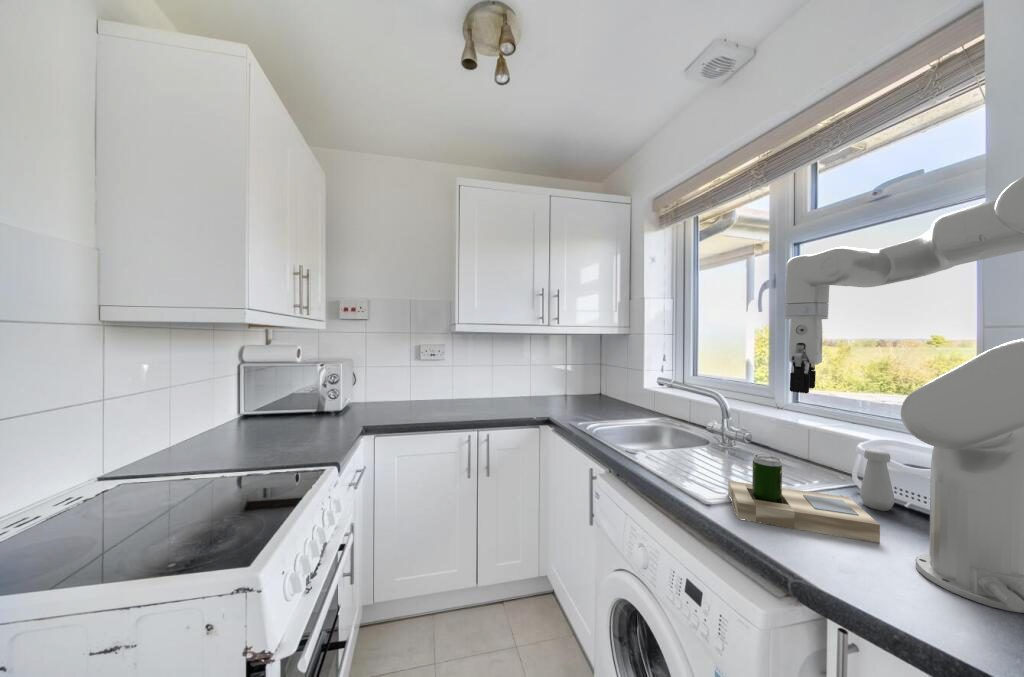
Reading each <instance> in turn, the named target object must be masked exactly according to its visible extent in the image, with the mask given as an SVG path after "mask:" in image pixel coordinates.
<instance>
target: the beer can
mask: <svg viewBox="0 0 1024 677" xmlns="http://www.w3.org/2000/svg"><path fill="white" fill-rule="evenodd" d="M781 461H782V459H781V458H780V457H778V456H775V455H771V454H763V453H762V454H761V453H757V454H756V453H755V454H754V455H753V458H752V480H751V482H752V483H751V484H752V499H754V500H760V501H767V502H774V503H780V504H782V488H783V463H782V462H781Z"/></svg>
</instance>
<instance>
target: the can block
mask: <svg viewBox="0 0 1024 677" xmlns="http://www.w3.org/2000/svg"><path fill="white" fill-rule="evenodd" d="M727 486H728V488H727V492H728V494H727V495H729V496H730V497H731V499H732V503H731V505H732V508H733V507H734V508H733V510H734V509H735V510H734V513H735V512H736V513H735V515H736V514H737V515H736V517H738V518H739V519H745V520H750V521H749V522H751V521H755V522H754V523H757V522H761V523H760V524H763V523H766V524H765V525H769V524H771V525H770V526H776V527H782V528H787V529H792V530H800V531H806V532H810V533H817V534H822V535H824V534H825V535H829V536H834V537H835V536H836V537H841V538H847V539H853V540H858V541H864V542H870V543H877V544H880V543H881V524H880V523H878V521H877V520H876V519H874V518H873V517H872V516H870V514H869V513H867V511H865V510H864V509H863V508H861V507H860V506H859V505H858V504H857V503H856V502H855V501H854V500H852V499H851V498H850V497H848V496H843V495H835V494H829V493H822V492H821V493H820V492H814V491H805V490H798V489H793V488H792V489H791V488H784V487H782V504H780V503H774V502H767V501H760V500H754V499H752V483H749V482H748V483H747V482H746V483H745V482H740V481H733V480H732V481H731V480H728V484H727ZM729 496H728V497H729ZM738 518H737V519H738ZM739 519H738V520H739ZM745 520H744V521H745Z"/></svg>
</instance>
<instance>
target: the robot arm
mask: <svg viewBox="0 0 1024 677" xmlns="http://www.w3.org/2000/svg"><path fill="white" fill-rule="evenodd" d="M1022 251H1023V252H1024V175H1023V176H1021V177H1020V178H1018V179H1017V180H1015V181H1013V182H1012V183H1010V184H1009V185H1008V186H1007V187H1005V189H1004V190H1003V191H1002V192H1001V193H1000V194H999V196H998V197H997V198H994V199H990V200H987V201H984V202H982V203H978V204H975V205H972V206H968V207H966V208H965V207H964V208H961V209H960V210H956V211H952V212H949V213H946V214H943V215H941V216H939V217H938V218H936V219H935V220H934V221H933V222H932V224H931V227H930V229H929V230H928V231H926V232H925V233H923V234H922V235H919V236H917V237H915V238H912V239H909V240H906V241H903V242H900V243H897V244H896V243H895V244H893V245H889V246H886V247H881V248H878V249H867V248H861V247H859V248H858V247H850V246H839V247H834V248H830V249H827V250H823V251H821V252H817V253H814V254H803V255H798V256H793V257H791V258H790V259H788V260H787V262H786V269H785V270H786V271H785V294H784V298H785V299H784V320H790V322H789V340H788V342H789V343H788V359H789V363H791V369H790V373H789V374H790V376H789V391H790V392H791V393H792V392H793V393H799V394H809V392H810V389H815V387H816V374H817V373H816V372H817V371H816V366H817V365H819V364H821V363H822V362H823V321H822V320H828V319H829V304H830V302H829V301H830V286H837V287H853V288H855V287H856V288H875V287H881V286H885V285H890V284H895V283H899V282H904V281H909V280H914V279H918V278H921V277H926V276H929V275H933V274H936V273H939V272H942V271H945V270H949V269H952V268H954V267H956V266H960V265H964V264H968V263H972V262H978V261H983V260H987V259H991V258H995V257H999V256H1004V255H1009V254H1013V253H1018V252H1019V253H1020V252H1022ZM900 419H901V422H902V424H903V426H904V428H905V429H906V430H907V432H908V433H910V434H911V435H912V436H913V437H914V438H916V440H917V439H918V440H919V441H920V442H922V443H924V444H927V445H929V446H933V448H932V453H931V460H930V481H929V482H930V485H929V486H930V488H929V489H930V490H929V492H930V495H929V496H930V498H929V553H925V554H920V555H918V556H916V558H915V567H916V569H917V571H918V572H920V574H921V575H922V576H924V577H925V578H926V579H928V580H929V581H931V582H932V583H934V584H936V585H938V586H940V587H941V588H943V589H945V590H947V591H949V592H951V593H952V594H953V593H954V594H955V595H958V596H961V597H962V598H966V599H968V600H970V601H974V602H976V603H979V604H981V605H982V604H983V605H985V606H988V607H992V608H995V609H999V610H1003V611H1008V612H1014V613H1018V614H1024V338H1020V339H1014V340H1011V341H1008V342H1005V343H1002V344H999V345H997V346H995V347H992V348H990V349H988V350H985V351H984V352H982V353H979V354H977V356H974V357H973V358H970V359H968V360H966V361H965V362H963V363H961V364H960V365H958V366H956V367H954V368H952V369H950V370H948V371H947V372H945V373H943V374H941V375H939V376H937V377H935V378H934V379H932V380H930V381H928V382H926V383H925V384H923V385H921V386H919V387H918V388H917V389H915V390H913V391H912V392H911V393H910V394H909V395H907V397H906V398H905V399H904V401H903V402H902V405H901V407H900Z"/></svg>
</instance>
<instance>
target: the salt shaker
mask: <svg viewBox="0 0 1024 677" xmlns="http://www.w3.org/2000/svg"><path fill="white" fill-rule="evenodd" d="M863 452H864V453H863V456H864V458H865V459H866V460H867V462H866V465H865V468H864V469H865V470H864V473H863V477H862V483H861V486H860V489H859V496H860V499H861V501H862V502H863V505H864V506H867V507H868V508H870V509H873V510H877V511H881V512H885V511H890V510H891V509H892V508H893V506H894V505H895V503H896V498H895V495H894V491H893V486H892V483H891V477H890V472H889V468H888V463H890V461H891V454H890V453H889V452H888V451H886V450H882V449H878V448H867V449H864V451H863Z"/></svg>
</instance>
